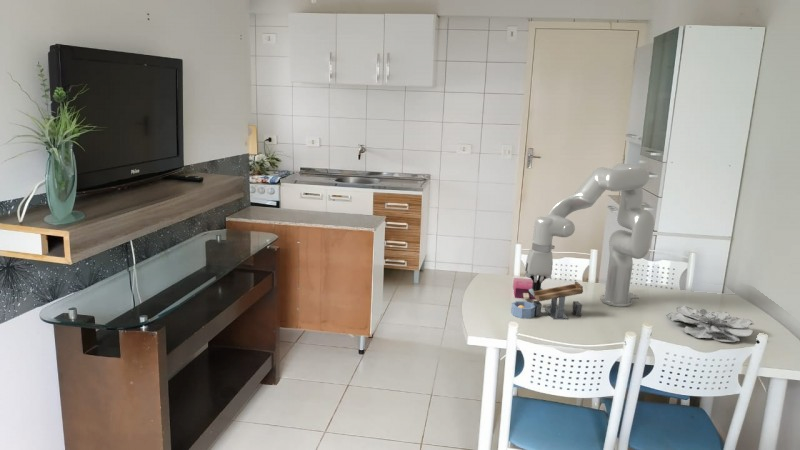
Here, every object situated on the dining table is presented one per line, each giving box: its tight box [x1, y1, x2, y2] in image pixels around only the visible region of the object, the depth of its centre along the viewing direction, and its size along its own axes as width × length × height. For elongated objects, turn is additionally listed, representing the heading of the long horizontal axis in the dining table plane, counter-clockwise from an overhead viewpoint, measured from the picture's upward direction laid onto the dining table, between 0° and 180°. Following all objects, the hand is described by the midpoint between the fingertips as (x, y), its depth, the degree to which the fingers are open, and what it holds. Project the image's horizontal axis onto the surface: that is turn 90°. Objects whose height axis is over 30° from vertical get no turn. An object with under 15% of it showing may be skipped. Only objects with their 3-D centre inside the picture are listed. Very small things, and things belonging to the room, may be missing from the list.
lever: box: [529, 281, 584, 302], centre depth 234 cm, size 18×13×3 cm
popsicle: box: [512, 277, 537, 301], centre depth 253 cm, size 9×5×20 cm
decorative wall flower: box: [665, 304, 755, 343], centre depth 225 cm, size 30×7×30 cm
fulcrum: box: [532, 296, 583, 320], centre depth 231 cm, size 19×10×9 cm, turn 96°
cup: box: [510, 300, 535, 319], centre depth 231 cm, size 9×9×4 cm
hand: (535, 291), depth 236 cm, fingers closed
